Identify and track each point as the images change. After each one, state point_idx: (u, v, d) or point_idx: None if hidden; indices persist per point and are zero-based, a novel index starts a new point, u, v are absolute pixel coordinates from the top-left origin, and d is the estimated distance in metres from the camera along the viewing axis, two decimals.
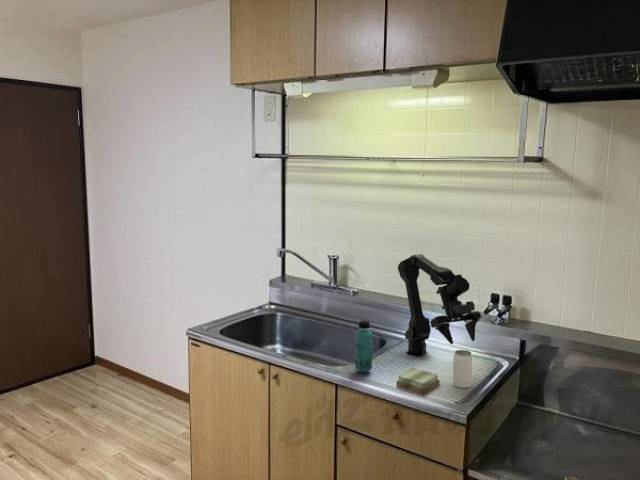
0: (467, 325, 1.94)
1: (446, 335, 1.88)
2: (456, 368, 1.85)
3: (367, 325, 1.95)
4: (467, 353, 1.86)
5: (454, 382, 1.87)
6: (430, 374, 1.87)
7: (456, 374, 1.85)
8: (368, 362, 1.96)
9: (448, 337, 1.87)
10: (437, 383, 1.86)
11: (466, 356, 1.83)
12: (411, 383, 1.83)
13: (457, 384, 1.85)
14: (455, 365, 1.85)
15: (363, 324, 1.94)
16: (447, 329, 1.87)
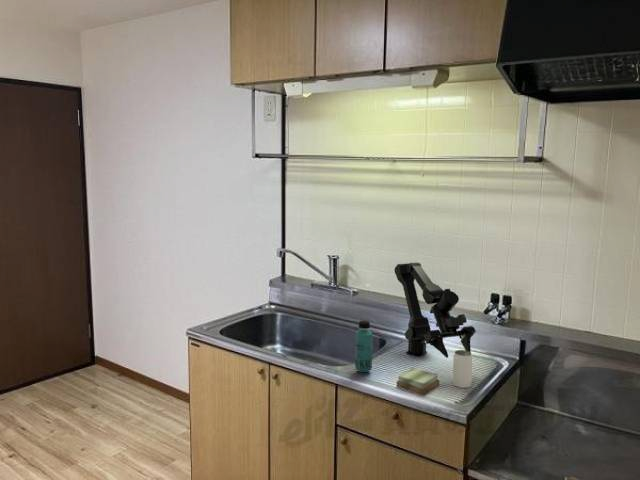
0: (462, 340, 1.95)
1: (441, 349, 1.89)
2: (456, 368, 1.85)
3: (367, 325, 1.95)
4: (467, 353, 1.86)
5: (454, 382, 1.87)
6: (430, 374, 1.87)
7: (456, 374, 1.85)
8: (368, 362, 1.96)
9: (443, 351, 1.88)
10: (437, 383, 1.86)
11: (466, 356, 1.83)
12: (411, 383, 1.83)
13: (457, 384, 1.85)
14: (455, 365, 1.85)
15: (363, 324, 1.94)
16: (441, 343, 1.89)
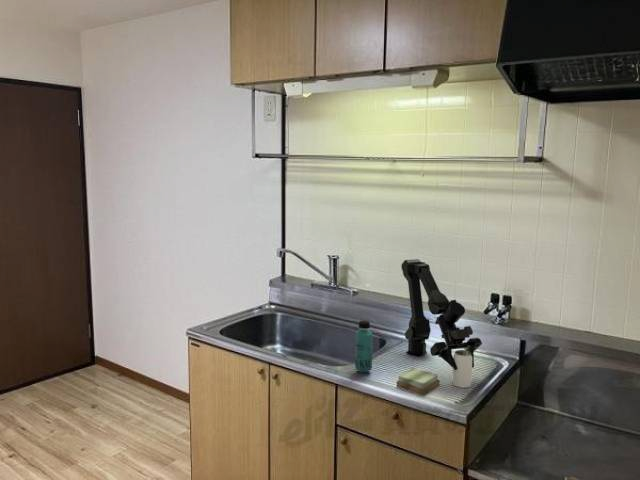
0: None
1: (449, 361, 1.86)
2: None
3: (367, 325, 1.95)
4: (467, 353, 1.86)
5: (454, 382, 1.87)
6: (430, 374, 1.87)
7: (456, 374, 1.85)
8: (368, 362, 1.96)
9: (452, 363, 1.85)
10: (437, 383, 1.86)
11: (466, 356, 1.83)
12: (411, 383, 1.83)
13: (457, 384, 1.85)
14: None
15: (363, 324, 1.94)
16: (450, 355, 1.86)
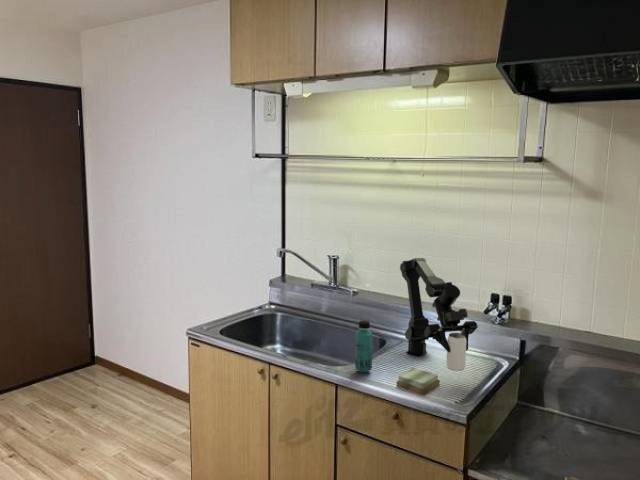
0: None
1: (443, 343, 1.85)
2: None
3: (367, 325, 1.95)
4: (461, 336, 1.85)
5: (447, 364, 1.85)
6: (430, 374, 1.87)
7: (449, 356, 1.84)
8: (368, 362, 1.96)
9: (445, 345, 1.84)
10: (437, 383, 1.86)
11: (459, 338, 1.82)
12: (411, 383, 1.83)
13: (450, 366, 1.84)
14: None
15: (363, 324, 1.94)
16: (443, 337, 1.85)
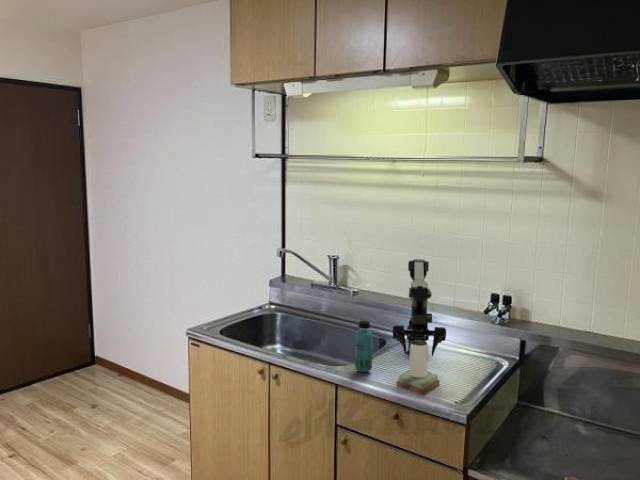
0: None
1: (402, 345, 1.87)
2: (409, 357, 1.85)
3: (367, 325, 1.95)
4: (423, 344, 1.84)
5: (409, 371, 1.87)
6: (430, 374, 1.87)
7: (409, 363, 1.85)
8: (368, 362, 1.96)
9: (403, 347, 1.86)
10: (437, 383, 1.86)
11: (417, 346, 1.82)
12: (411, 383, 1.83)
13: (410, 373, 1.85)
14: None
15: (363, 324, 1.94)
16: (402, 339, 1.87)
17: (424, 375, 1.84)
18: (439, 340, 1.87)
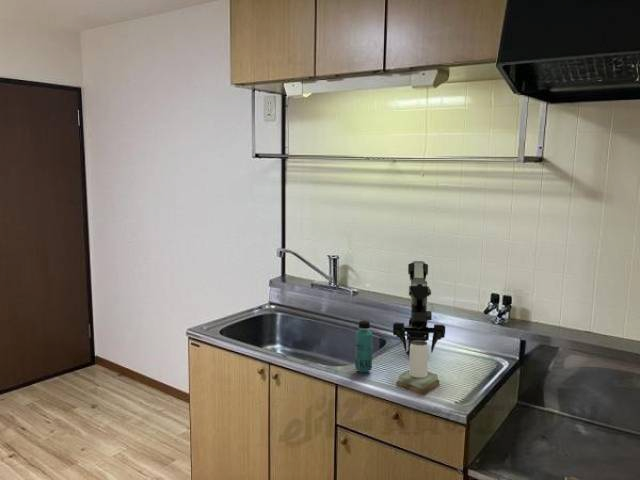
0: None
1: (402, 342, 1.91)
2: (409, 357, 1.85)
3: (367, 325, 1.95)
4: (423, 344, 1.84)
5: (409, 371, 1.87)
6: (430, 374, 1.87)
7: (409, 363, 1.85)
8: (368, 362, 1.96)
9: (403, 344, 1.90)
10: (437, 383, 1.86)
11: (417, 346, 1.82)
12: (411, 383, 1.83)
13: (410, 373, 1.85)
14: None
15: (363, 324, 1.94)
16: (402, 336, 1.91)
17: (424, 375, 1.84)
18: (438, 337, 1.91)
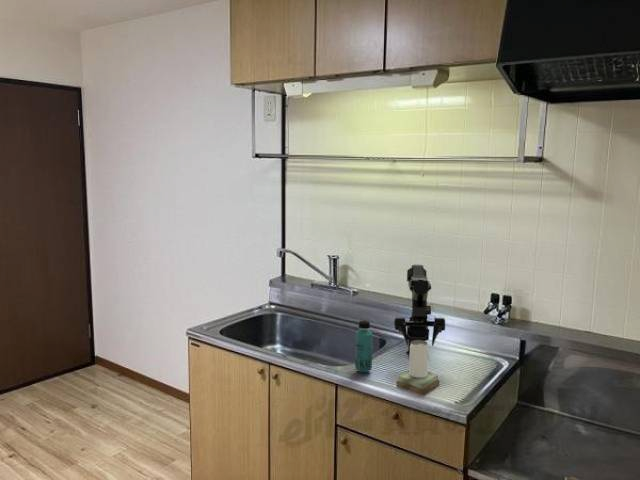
0: None
1: (404, 337, 1.97)
2: (409, 357, 1.85)
3: (367, 325, 1.95)
4: (423, 344, 1.84)
5: (409, 371, 1.87)
6: (430, 374, 1.87)
7: (409, 363, 1.85)
8: (368, 362, 1.96)
9: (404, 338, 1.96)
10: (437, 383, 1.86)
11: (418, 346, 1.82)
12: (411, 383, 1.83)
13: (410, 373, 1.85)
14: None
15: (363, 324, 1.94)
16: (404, 330, 1.96)
17: (424, 375, 1.84)
18: (439, 330, 1.96)
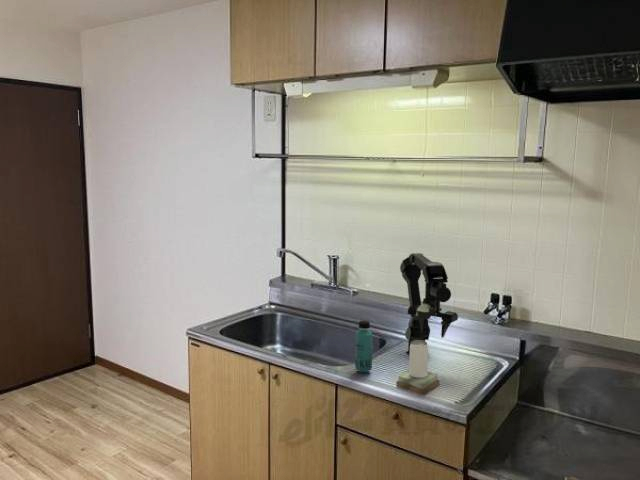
0: None
1: None
2: (409, 357, 1.85)
3: (367, 325, 1.95)
4: (423, 344, 1.84)
5: (409, 371, 1.87)
6: (430, 374, 1.87)
7: (409, 363, 1.85)
8: (368, 362, 1.96)
9: None
10: (437, 383, 1.86)
11: (417, 346, 1.82)
12: (411, 383, 1.83)
13: (410, 373, 1.85)
14: None
15: (363, 324, 1.94)
16: (416, 320, 2.04)
17: (424, 375, 1.84)
18: None
